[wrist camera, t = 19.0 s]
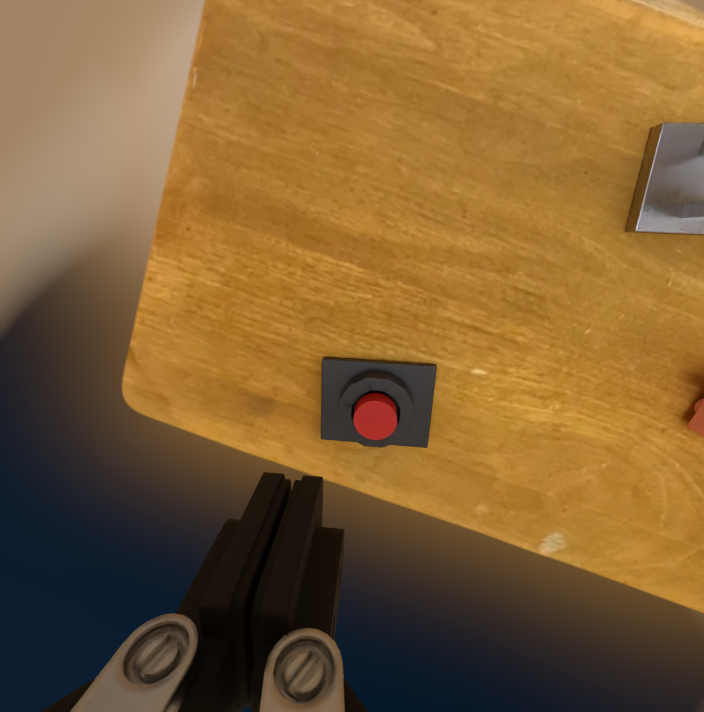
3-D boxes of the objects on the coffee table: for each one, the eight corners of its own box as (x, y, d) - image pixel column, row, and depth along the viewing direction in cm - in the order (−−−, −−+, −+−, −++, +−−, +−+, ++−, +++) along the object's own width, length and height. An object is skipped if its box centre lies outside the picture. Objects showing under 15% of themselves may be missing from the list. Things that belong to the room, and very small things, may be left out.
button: (354, 428, 32) (352, 438, 31) (355, 390, 31) (354, 399, 30) (394, 431, 32) (395, 441, 31) (398, 393, 31) (398, 402, 29)
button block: (321, 435, 35) (317, 449, 33) (323, 356, 33) (318, 365, 31) (426, 444, 35) (429, 459, 32) (435, 363, 32) (439, 373, 30)
